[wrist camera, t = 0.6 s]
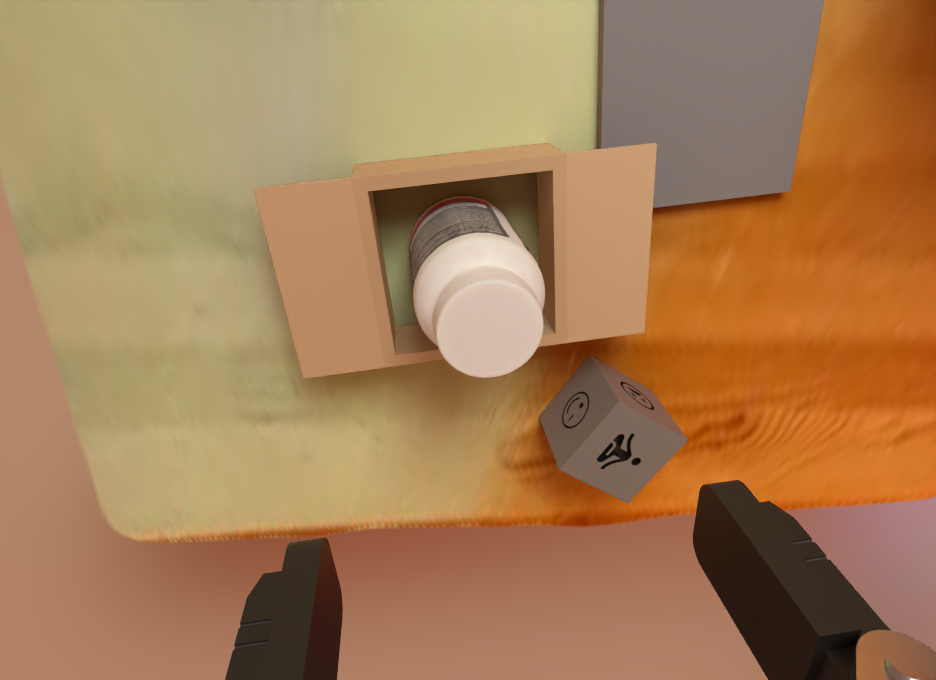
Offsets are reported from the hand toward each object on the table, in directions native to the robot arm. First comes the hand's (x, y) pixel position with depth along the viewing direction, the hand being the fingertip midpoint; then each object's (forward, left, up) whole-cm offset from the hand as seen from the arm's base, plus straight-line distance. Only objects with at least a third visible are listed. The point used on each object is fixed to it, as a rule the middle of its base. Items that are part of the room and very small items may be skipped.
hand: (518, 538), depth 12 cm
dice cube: (+11, +8, -19) cm, 24 cm away
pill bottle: (0, +1, -19) cm, 19 cm away
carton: (0, +1, -19) cm, 19 cm away
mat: (-6, +13, -19) cm, 24 cm away
